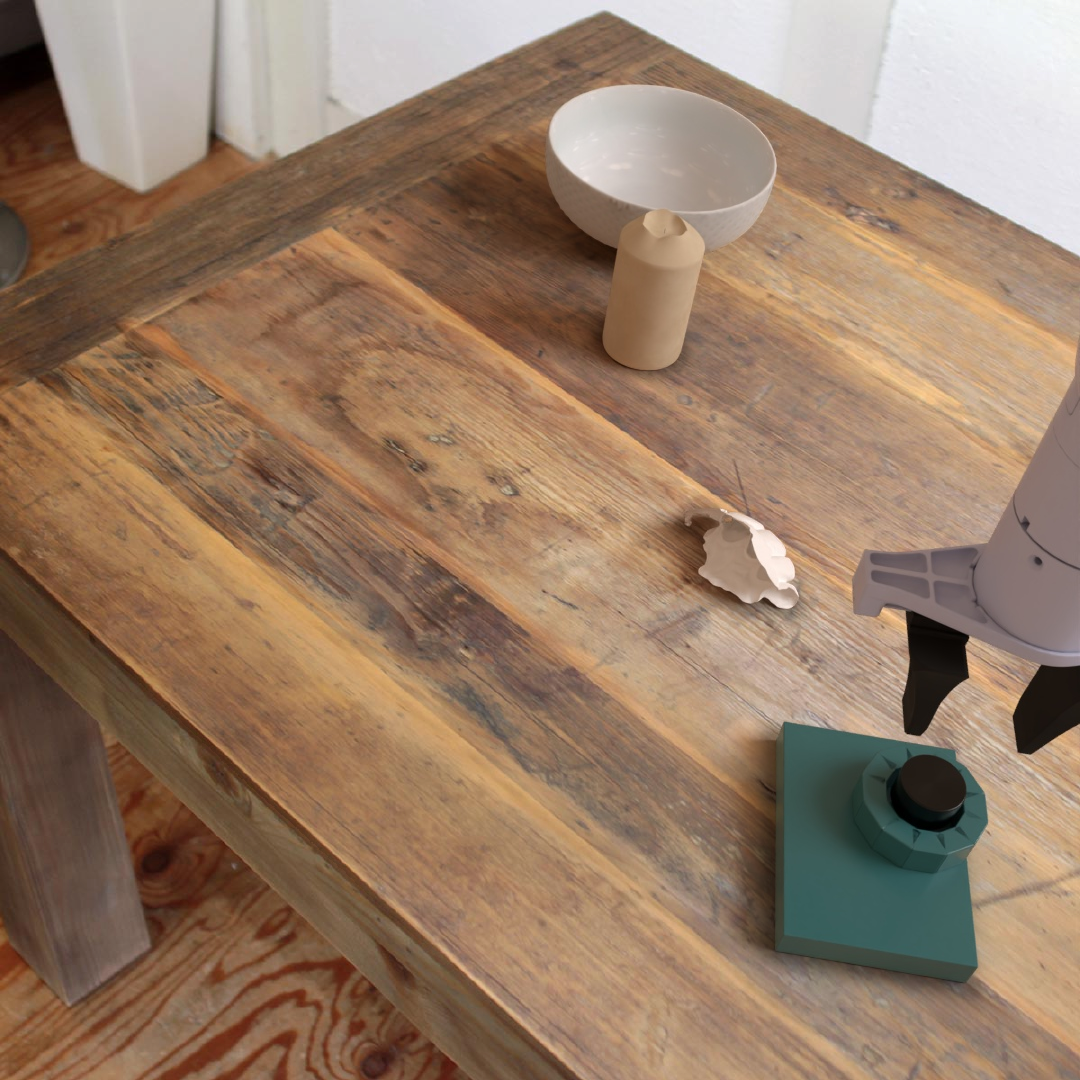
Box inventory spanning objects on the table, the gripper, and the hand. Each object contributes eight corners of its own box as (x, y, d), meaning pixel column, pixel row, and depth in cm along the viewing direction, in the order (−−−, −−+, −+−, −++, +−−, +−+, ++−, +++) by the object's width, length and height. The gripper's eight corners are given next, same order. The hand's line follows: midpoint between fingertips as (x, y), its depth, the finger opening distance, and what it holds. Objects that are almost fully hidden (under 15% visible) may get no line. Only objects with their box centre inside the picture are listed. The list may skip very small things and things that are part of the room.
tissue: (753, 510, 82) (767, 465, 79) (804, 609, 77) (821, 565, 74) (668, 521, 80) (680, 476, 78) (715, 623, 75) (729, 579, 72)
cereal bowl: (491, 214, 100) (498, 130, 95) (630, 141, 110) (644, 60, 104) (666, 323, 94) (684, 238, 88) (798, 235, 103) (822, 154, 98)
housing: (977, 985, 62) (1005, 951, 59) (774, 951, 62) (793, 915, 60) (955, 769, 70) (978, 731, 68) (776, 739, 70) (792, 700, 68)
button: (958, 835, 64) (970, 816, 63) (891, 824, 64) (902, 805, 63) (952, 779, 66) (964, 759, 65) (888, 768, 66) (898, 748, 65)
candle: (694, 364, 91) (724, 240, 83) (621, 377, 89) (645, 253, 82) (660, 314, 94) (686, 192, 87) (589, 327, 92) (609, 202, 85)
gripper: (1253, 478, 53) (1110, 682, 63) (892, 419, 53) (806, 632, 63) (1300, 613, 48) (1137, 810, 58) (903, 547, 48) (808, 755, 58)
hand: (966, 726), depth 60 cm, fingers open, 4 cm apart
